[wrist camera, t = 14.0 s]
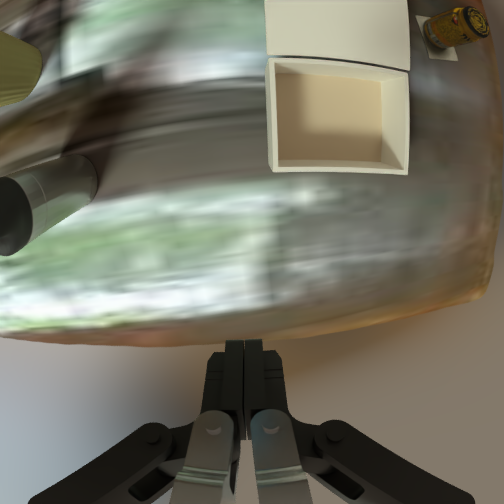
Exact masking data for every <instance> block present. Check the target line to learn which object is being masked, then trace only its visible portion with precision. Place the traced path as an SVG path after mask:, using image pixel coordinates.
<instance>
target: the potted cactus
mask: <svg viewBox="0 0 504 504" xmlns="http://www.w3.org/2000/svg"><path fill="white" fill-rule="evenodd" d="M41 69H42V56H41V53H40V51H39V50H38V49H37V48H36V47H34V46H32V45H30V44H28V43H26V42H24V41H22V40H20V39H17V38H15V37H13V36H11V35H9V34H6V33H4V32H2V31H0V107H2V106H5V105H9V104H13V103H16V102H19V101H22V100H23V99H25V98H26V97H27V96H28V95H29V94H30V93H31V92H32V90H33V89H34V87H35V86H36V84H37V82H38V79H39V77H40V73H41Z"/></svg>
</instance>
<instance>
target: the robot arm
mask: <svg viewBox="0 0 504 504" xmlns="http://www.w3.org/2000/svg"><path fill="white" fill-rule="evenodd" d="M97 184H98V180H97V174H96V171H95V168H94V166H93V165H92V163H91V162H90V161H89V160H88V159H87V158H86V157H84V156H81V155H77V154H76V155H70V156H66V157H62V158H58V159H55V160H51V161H48V162H45V163H41V164H38V165H35V166H32V167H29V168H26V169H23V170H20V171H17V172H15V173H12V174H9V175H6V176H4V177H1V178H0V255H1V256H10V255H13V254H15V253H16V252H18V251H19V250H20V249H22V248H23V247H24V246H26V245H27V244H28V243H30V242H31V241H33V240H34V239H36V238H37V237H38V236H40V235H41V234H43V233H44V232H45V231H47V230H48V229H50V228H51V227H53V226H54V225H56V224H57V223H59V222H60V221H62V220H64V219H65V218H67V217H68V216H70V215H71V214H73V213H75V212H76V211H78V210H80V209H81V208H83V207H84V206H86V205H88V204H89V203H90V202H91V201H92V199H93V198H94V196H95V194H96V191H97ZM205 380H206V381H205V385H204V392H203V400H202V407H201V412H200V415H199V416H198V417H197V418H196V420H194V422H192V423H190V424H188V425H185V426H181V427H176V428H171V429H168V428H167V427H166V426H165V425H163V424H160V423H147V424H144V425H143V426H141V427H140V428H138V429H137V430H136V431H134V432H133V433H131V434H130V435H129V436H127V437H126V438H124V439H123V440H121V441H120V442H119V443H117V444H116V445H115V446H113V447H111V448H110V449H109V450H107V451H106V452H104V453H103V454H101V455H100V456H98V457H97V458H95V459H94V460H92V461H91V462H89V463H88V464H86V465H85V466H83V467H82V468H80V469H78V470H77V471H75V472H74V473H72V474H71V475H69V476H67V477H66V478H64V479H63V480H61V481H59V482H57V483H56V484H55V485H52V486H51V487H49V488H47V489H46V490H44V491H42V492H40V493H39V494H37V495H35V496H33V497H32V498H31V499H30V500H29V502H28V504H151V503H153V502H154V501H155V500H157V499H158V498H159V497H160V496H162V495H163V494H164V493H166V492H167V491H168V490H169V489H170V488H172V487H173V489H172V493H171V498H170V502H169V504H236V488H237V478H238V469H239V460H240V441H241V440H246V427H247V436H248V440H252V448H253V457H254V466H255V475H256V483H257V490H258V499H259V504H313V502H312V497H311V493H310V489H309V485H308V480H307V476H306V474H305V472H307V473H308V474H310V476H312V477H313V478H314V479H316V480H317V481H318V482H320V483H321V484H322V485H323V486H325V487H326V488H328V489H329V490H330V491H332V492H333V493H334V494H336V495H337V496H339V497H340V498H342V499H343V500H344V501H346V502H347V503H349V504H475V500H474V498H473V497H472V495H471V494H469V493H467V492H465V491H463V490H461V489H459V488H457V487H455V486H453V485H451V484H449V483H447V482H444V481H443V480H441V479H439V478H437V477H435V476H433V475H431V474H430V473H428V472H426V471H424V470H422V469H421V468H419V467H417V466H415V465H413V464H412V463H410V462H408V461H407V460H405V459H403V458H401V457H400V456H398V455H396V454H395V453H393V452H392V451H390V450H388V449H387V448H385V447H383V446H382V445H380V444H379V443H377V442H375V441H374V440H372V439H371V438H369V437H368V436H366V435H364V434H363V433H361V432H360V431H358V430H357V429H355V428H354V427H352V426H351V425H349V424H348V423H346V422H344V421H341V420H330V421H326V422H324V423H322V424H321V425H320V426H319V425H312V424H306V423H302V422H300V421H298V420H296V419H295V418H293V417H292V415H291V414H290V413H289V410H288V406H287V398H286V391H285V382H284V374H283V367H282V360H281V357H280V356H279V355H278V353H277V352H276V351H275V350H270V351H263V346H262V339H245V350H244V340H226V345H225V352H214V353H213V354H212V356H211V357H210V359H209V360H208V363H207V370H206V378H205Z"/></svg>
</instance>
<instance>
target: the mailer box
mask: <svg viewBox="0 0 504 504" xmlns="http://www.w3.org/2000/svg"><path fill="white" fill-rule="evenodd" d="M265 84H266V107H267V132H268V160H269V165H270V167H271V169H272V171H273V172H363V173H385V174H402V175H408V160H409V85H408V73H405V72H401V71H396V70H391V69H386V68H381V67H375V66H369V65H363V64H356V63H348V62H340V61H330V60H318V59H300V58H269V59H268V62H267V65H266V69H265Z"/></svg>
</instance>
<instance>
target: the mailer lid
mask: <svg viewBox="0 0 504 504" xmlns="http://www.w3.org/2000/svg"><path fill="white" fill-rule="evenodd" d="M264 5H265V25H266V47H267V55H292V56H313V57H326V58H335V59H344V60H352V61H360V62H366V63H373V64H378V65H384V66H389V67H394V68H399V69H403V70H407V71H410V36H409V18H408V6H407V0H264Z"/></svg>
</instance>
